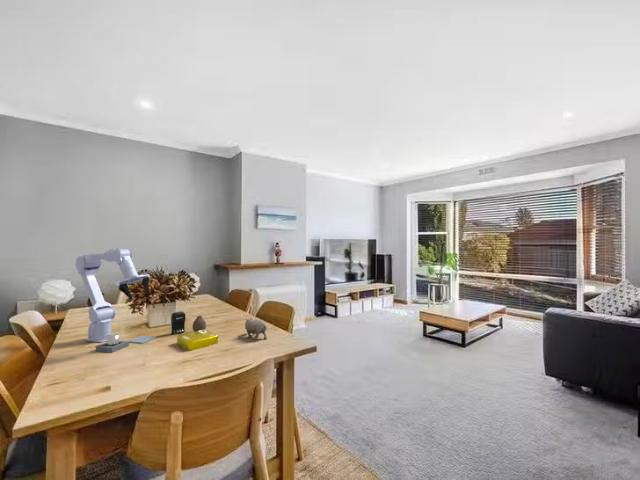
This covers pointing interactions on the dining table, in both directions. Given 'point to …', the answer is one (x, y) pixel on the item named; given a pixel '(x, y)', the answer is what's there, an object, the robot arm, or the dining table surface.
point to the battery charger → (178, 322)
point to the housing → (112, 349)
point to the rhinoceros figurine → (255, 328)
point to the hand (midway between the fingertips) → (139, 295)
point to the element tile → (197, 339)
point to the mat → (142, 339)
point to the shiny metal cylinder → (112, 340)
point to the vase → (199, 324)
